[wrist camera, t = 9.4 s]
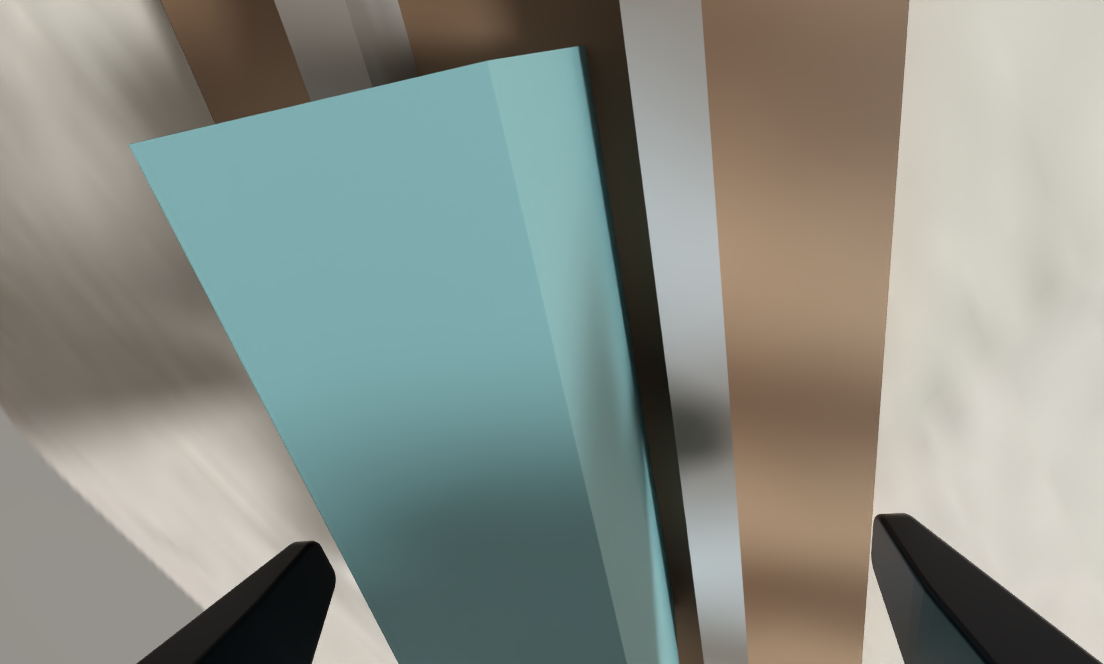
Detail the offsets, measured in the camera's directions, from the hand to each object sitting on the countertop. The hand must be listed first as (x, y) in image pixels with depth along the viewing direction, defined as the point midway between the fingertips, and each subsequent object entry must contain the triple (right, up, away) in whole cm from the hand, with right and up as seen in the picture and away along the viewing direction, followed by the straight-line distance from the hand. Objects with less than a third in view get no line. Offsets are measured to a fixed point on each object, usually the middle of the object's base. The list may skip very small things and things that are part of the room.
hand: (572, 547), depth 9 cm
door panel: (0, +2, +4) cm, 4 cm away
